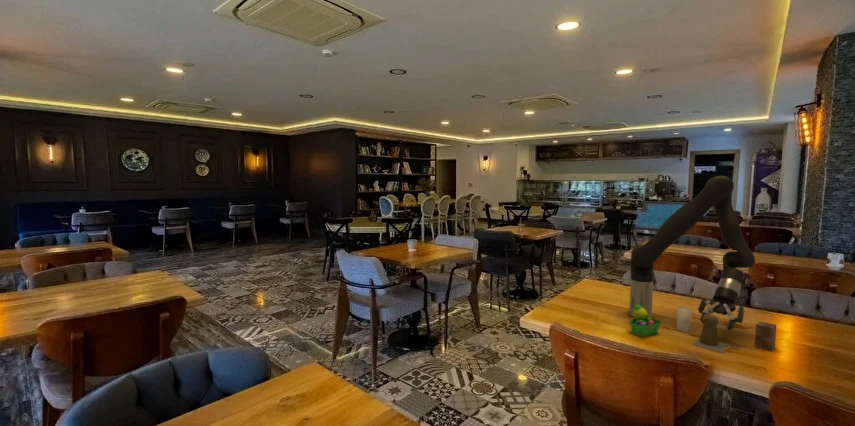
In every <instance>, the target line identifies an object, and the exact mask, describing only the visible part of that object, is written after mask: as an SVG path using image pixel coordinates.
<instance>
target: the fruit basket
mask: <svg viewBox="0 0 855 426" xmlns="http://www.w3.org/2000/svg"><path fill="white" fill-rule="evenodd" d="M633 315H634V317H633V319H630V320H628V322H629V325H630V328H631V331H632V334H635V335H637V336H640V337H643V338H645V337H648V336H652V335H653V334H657V333H658V331H659V328H660V326H661V324H662V321H661V320H658V319H656V318H653V317H651V318H650V317H647V316H648V313H647V311H646V310H645V309H644V308H643V307H642V306H640V305H635V306H634V312H633Z"/></svg>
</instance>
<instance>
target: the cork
mask: <svg viewBox="0 0 855 426" xmlns="http://www.w3.org/2000/svg"><path fill="white" fill-rule="evenodd" d="M702 321H703V322H704V324H703V323H702V324H703V325H702V330H701V334H700V337H699V339H700V342H701V343H703V344H706V345H710V346H717V345H718V342H719V338H718V328H717V325H718V324H719V318H718V317H717V316H715V315H713V314H709V315H704V316H703V317H702Z"/></svg>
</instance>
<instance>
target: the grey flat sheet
mask: <svg viewBox="0 0 855 426" xmlns="http://www.w3.org/2000/svg"><path fill="white" fill-rule="evenodd" d="M691 345H693V346H695V347H699V348H702V349H706V350H709V351H712V352H716V353H720V354H722V353H723V354H724V353H725V352H724V351H723V350H724V349H725V350H726V347H727V348H728V347H729V346H730V348H732V345H731V344H727V343H723V342H719V341H718V345H717V346H710V345H706V344H703V343H701V342H700V338H699V339H697V340H696V341H694V342H693V343H692V344H691Z"/></svg>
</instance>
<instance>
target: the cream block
mask: <svg viewBox="0 0 855 426" xmlns="http://www.w3.org/2000/svg"><path fill="white" fill-rule="evenodd" d="M691 320H692V309H690V308H689V307H686V306H685V307H683V306H679V307H677V308H676V324H675V325H676V328H675V329H676V330H677V331H679V332H685V333H686V332H687V333H688V332H689V333H690V332H691V323H692V322H691Z"/></svg>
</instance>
